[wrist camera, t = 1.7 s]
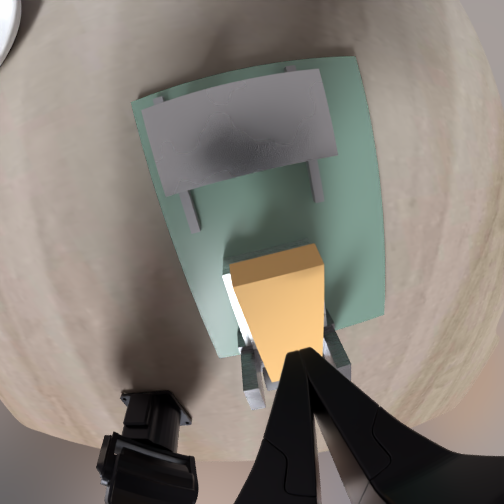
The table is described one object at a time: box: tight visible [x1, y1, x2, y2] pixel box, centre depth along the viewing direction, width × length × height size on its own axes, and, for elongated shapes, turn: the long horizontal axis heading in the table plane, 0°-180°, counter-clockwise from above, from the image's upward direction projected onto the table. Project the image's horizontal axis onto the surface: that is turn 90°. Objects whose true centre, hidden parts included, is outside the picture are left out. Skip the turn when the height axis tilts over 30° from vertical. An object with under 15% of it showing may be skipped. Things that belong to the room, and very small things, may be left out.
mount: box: [237, 309, 351, 410], centre depth 20 cm, size 3×7×6 cm, turn 103°
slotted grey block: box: [222, 238, 327, 349], centre depth 19 cm, size 6×6×3 cm
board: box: [131, 56, 385, 358], centre depth 19 cm, size 21×15×2 cm
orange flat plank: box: [229, 243, 325, 391], centre depth 15 cm, size 12×4×2 cm, turn 13°
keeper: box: [141, 69, 338, 197], centre depth 13 cm, size 4×7×7 cm, turn 103°
